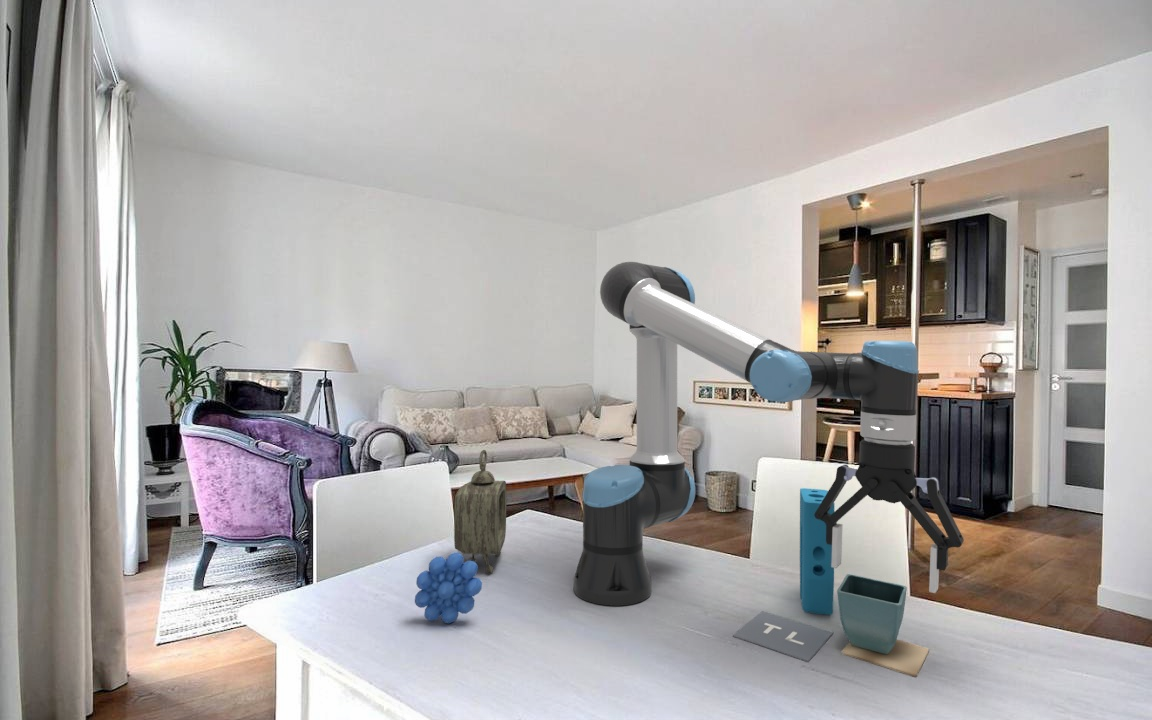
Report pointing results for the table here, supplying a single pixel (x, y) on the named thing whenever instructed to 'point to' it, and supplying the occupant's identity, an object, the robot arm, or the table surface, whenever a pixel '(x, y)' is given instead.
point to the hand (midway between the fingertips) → (882, 577)
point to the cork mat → (893, 657)
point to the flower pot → (871, 612)
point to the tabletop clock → (480, 515)
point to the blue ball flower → (448, 588)
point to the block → (815, 556)
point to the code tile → (784, 635)
